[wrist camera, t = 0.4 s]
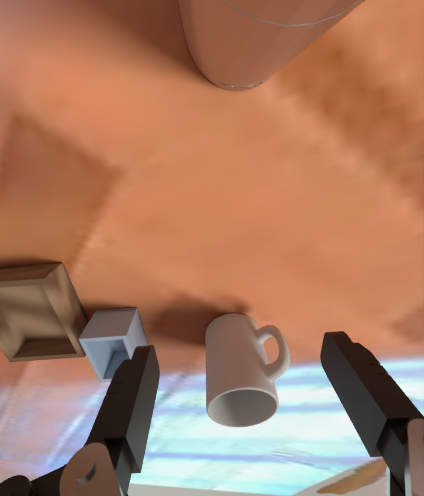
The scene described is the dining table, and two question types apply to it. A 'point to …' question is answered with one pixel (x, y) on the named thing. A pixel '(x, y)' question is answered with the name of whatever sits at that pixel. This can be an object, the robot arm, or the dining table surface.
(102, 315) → the small crate
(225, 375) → the mug
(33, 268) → the box
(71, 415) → the dining table surface
